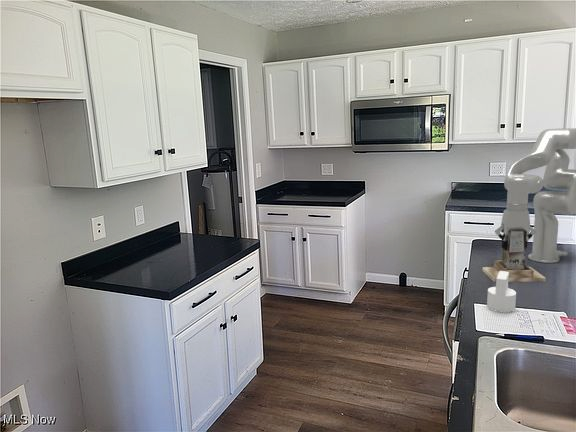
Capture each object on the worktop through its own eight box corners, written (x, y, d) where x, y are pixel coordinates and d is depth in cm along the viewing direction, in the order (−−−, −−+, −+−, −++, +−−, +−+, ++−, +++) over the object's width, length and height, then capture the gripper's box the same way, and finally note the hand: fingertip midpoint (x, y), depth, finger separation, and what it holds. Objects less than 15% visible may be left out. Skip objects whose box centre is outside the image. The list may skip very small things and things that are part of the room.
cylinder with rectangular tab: (513, 314, 150) (516, 281, 147) (485, 309, 154) (486, 277, 152) (516, 304, 157) (518, 272, 154) (488, 300, 162) (490, 269, 159)
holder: (530, 270, 191) (531, 260, 190) (545, 281, 177) (546, 270, 176) (482, 270, 193) (482, 260, 192) (493, 281, 179) (494, 271, 178)
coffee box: (524, 269, 179) (527, 231, 176) (507, 269, 180) (510, 231, 177) (518, 262, 188) (520, 225, 184) (501, 262, 189) (504, 225, 186)
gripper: (535, 205, 182) (532, 246, 185) (491, 206, 183) (489, 247, 187) (543, 208, 174) (540, 252, 178) (497, 209, 176) (495, 252, 180)
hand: (514, 249), depth 183 cm, fingers closed on coffee box, 6 cm apart
